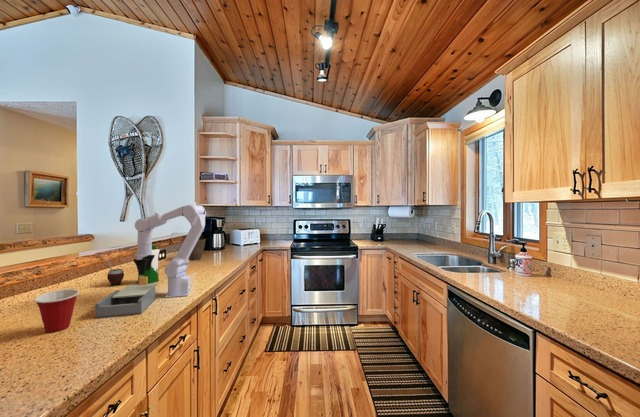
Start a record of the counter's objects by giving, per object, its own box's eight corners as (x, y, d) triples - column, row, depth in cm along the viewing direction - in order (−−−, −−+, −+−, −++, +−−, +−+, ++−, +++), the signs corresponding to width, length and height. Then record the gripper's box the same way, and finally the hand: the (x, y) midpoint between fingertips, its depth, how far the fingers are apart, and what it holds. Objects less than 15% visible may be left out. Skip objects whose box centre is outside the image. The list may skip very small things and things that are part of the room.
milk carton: (161, 280, 148) (161, 245, 148) (145, 285, 140) (145, 247, 140) (150, 279, 151) (150, 244, 151) (134, 283, 143) (134, 246, 143)
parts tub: (155, 299, 118) (155, 287, 118) (141, 314, 102) (141, 300, 102) (116, 302, 114) (116, 290, 114) (95, 318, 98) (95, 303, 98)
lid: (157, 284, 127) (158, 275, 127) (145, 295, 111) (145, 285, 111) (129, 286, 123) (129, 277, 123) (111, 298, 107) (111, 288, 107)
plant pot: (191, 262, 200) (191, 241, 200) (180, 259, 208) (181, 239, 208) (209, 259, 212) (209, 239, 212) (198, 257, 220) (198, 238, 220)
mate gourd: (127, 283, 143) (127, 255, 143) (114, 287, 135) (114, 258, 135) (114, 282, 144) (114, 255, 144) (101, 287, 136) (101, 258, 136)
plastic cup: (26, 339, 82) (26, 301, 82) (43, 325, 91) (43, 291, 91) (72, 332, 87) (72, 296, 87) (83, 320, 96) (83, 287, 96)
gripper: (140, 242, 132) (140, 269, 132) (128, 246, 118) (128, 276, 118) (156, 241, 134) (156, 268, 134) (146, 245, 120) (146, 275, 120)
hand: (144, 272), depth 126 cm, fingers open, 7 cm apart
